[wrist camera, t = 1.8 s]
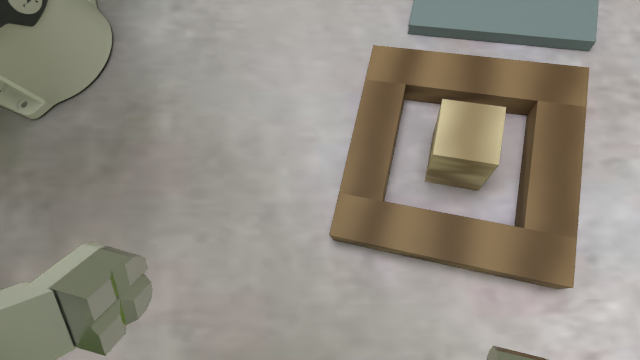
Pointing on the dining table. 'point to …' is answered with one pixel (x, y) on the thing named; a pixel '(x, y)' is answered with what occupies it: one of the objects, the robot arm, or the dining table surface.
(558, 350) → the dining table surface
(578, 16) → the slate pad
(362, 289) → the dining table surface
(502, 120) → the maple peg
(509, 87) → the pocket block
